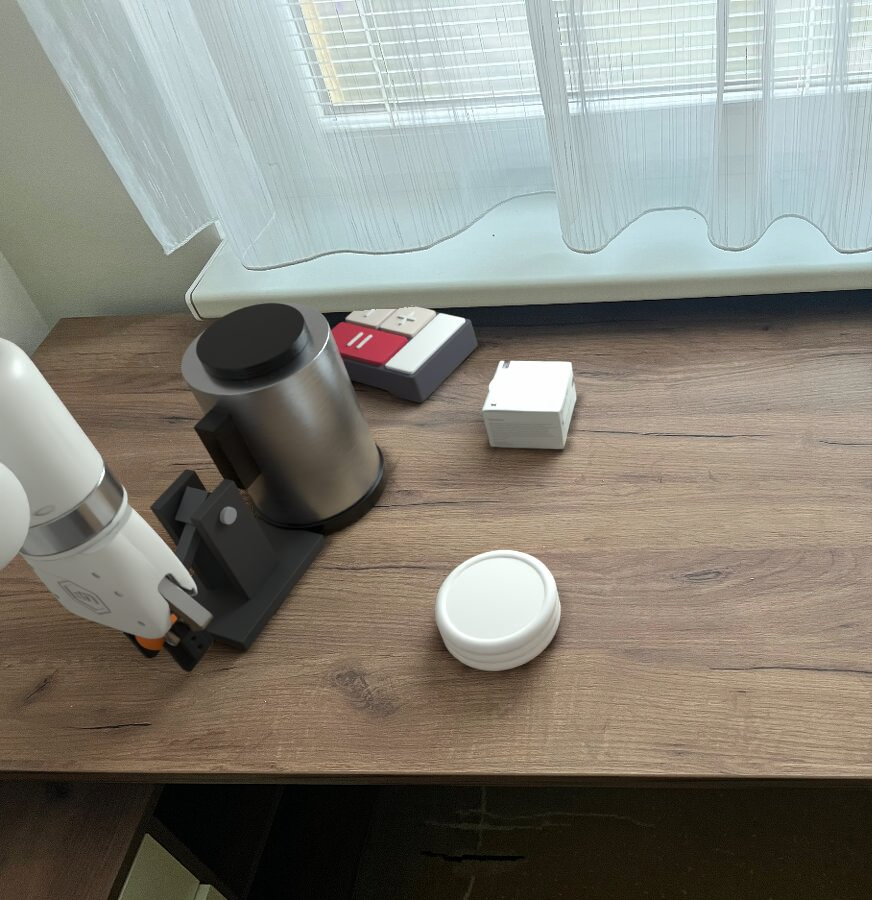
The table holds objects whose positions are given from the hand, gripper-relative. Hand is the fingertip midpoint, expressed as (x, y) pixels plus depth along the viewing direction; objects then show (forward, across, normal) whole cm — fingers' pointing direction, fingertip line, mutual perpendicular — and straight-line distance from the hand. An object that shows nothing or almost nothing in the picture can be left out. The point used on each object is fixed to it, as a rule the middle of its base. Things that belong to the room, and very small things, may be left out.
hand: (179, 648), depth 72 cm
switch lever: (-4, 0, +5) cm, 7 cm away
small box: (+2, +17, +34) cm, 38 cm away
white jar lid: (+2, +24, +11) cm, 27 cm away
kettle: (+2, 0, +20) cm, 20 cm away
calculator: (+2, -3, +40) cm, 40 cm away
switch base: (+2, 0, +8) cm, 8 cm away
